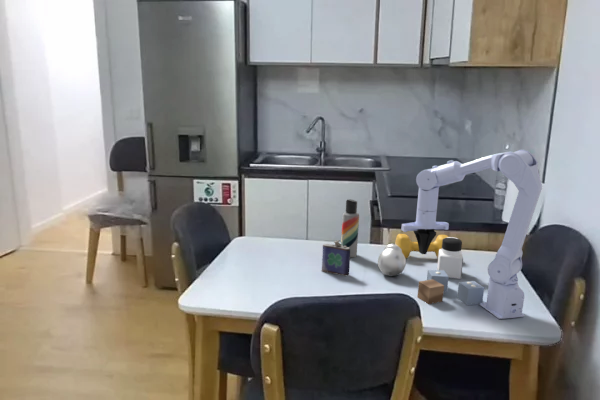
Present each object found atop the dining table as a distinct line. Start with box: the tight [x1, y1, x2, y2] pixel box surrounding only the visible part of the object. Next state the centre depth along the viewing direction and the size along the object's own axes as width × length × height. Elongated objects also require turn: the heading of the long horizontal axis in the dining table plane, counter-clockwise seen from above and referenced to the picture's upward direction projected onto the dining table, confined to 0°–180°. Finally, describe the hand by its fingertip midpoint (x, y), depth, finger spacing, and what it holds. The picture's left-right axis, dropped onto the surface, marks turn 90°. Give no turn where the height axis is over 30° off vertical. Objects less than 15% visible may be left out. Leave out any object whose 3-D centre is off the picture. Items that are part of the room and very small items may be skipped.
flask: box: [321, 239, 351, 277], centre depth 171 cm, size 9×3×11 cm, turn 65°
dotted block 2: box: [456, 280, 485, 306], centre depth 154 cm, size 5×5×5 cm
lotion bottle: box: [340, 198, 360, 259], centre depth 186 cm, size 6×6×20 cm
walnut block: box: [417, 279, 445, 305], centre depth 154 cm, size 5×5×5 cm
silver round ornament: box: [377, 243, 407, 277], centre depth 171 cm, size 9×10×10 cm
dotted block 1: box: [426, 269, 450, 293], centre depth 162 cm, size 5×5×5 cm
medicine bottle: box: [436, 236, 464, 280], centre depth 173 cm, size 7×7×12 cm
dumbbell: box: [394, 233, 449, 260], centre depth 188 cm, size 19×9×8 cm, turn 91°
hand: (422, 253), depth 161 cm, fingers closed
